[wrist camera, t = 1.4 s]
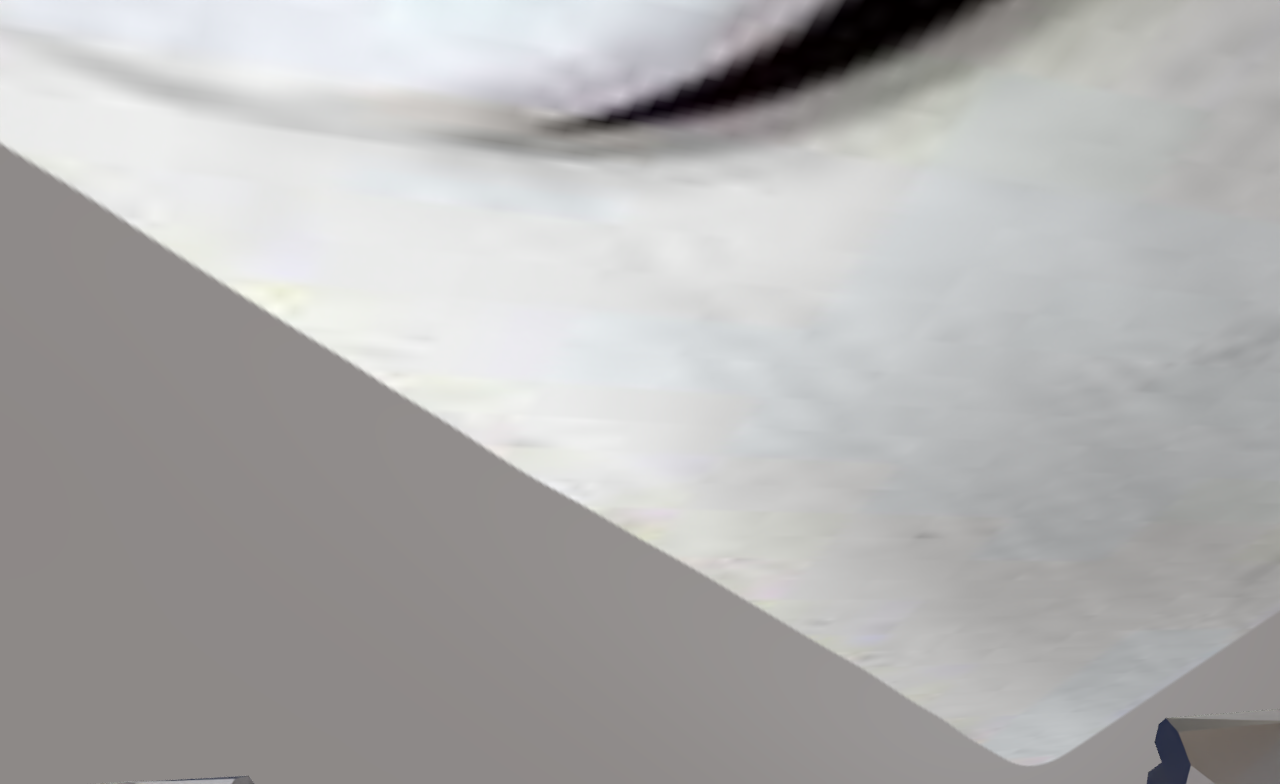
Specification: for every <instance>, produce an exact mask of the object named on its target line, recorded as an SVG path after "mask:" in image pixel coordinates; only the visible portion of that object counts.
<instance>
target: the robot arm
mask: <svg viewBox="0 0 1280 784" xmlns="http://www.w3.org/2000/svg"><path fill="white" fill-rule="evenodd" d="M1155 745H1156V747H1157V750H1158V753H1159V756H1160V759H1161V763H1160V764H1159V765H1158V766H1156V767H1155V768H1154V769H1152V770H1151V771H1149V772H1148V777H1147V784H1280V709H1274V710H1261V711H1248V712H1236V713H1223V714H1210V715H1198V716H1185V717H1172V718H1165V719H1164V720H1163V721H1162V722H1161V723H1160V724H1159V725H1158V730H1157V734H1156V739H1155ZM102 784H254V783H253V781H252V780H251V778H250V777H249V776H235V777H217V778H200V779H181V780H165V781H132V782H117V783H102Z"/></svg>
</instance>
